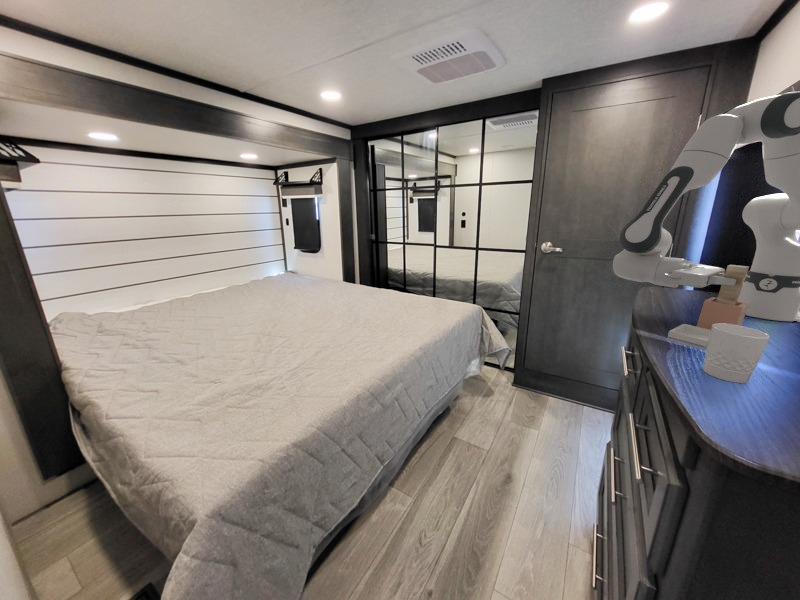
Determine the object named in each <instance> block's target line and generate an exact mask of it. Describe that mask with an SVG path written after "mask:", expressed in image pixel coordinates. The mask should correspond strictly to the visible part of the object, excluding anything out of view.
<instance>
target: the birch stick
mask: <svg viewBox="0 0 800 600" xmlns="http://www.w3.org/2000/svg"><path fill="white" fill-rule="evenodd" d="M749 268H750V266H747V265H746V266H745V265H740V264H739V265H736V264H729V265H727V267H726V269H725V273H724V274H725V276H724V277H725V278H735V279H737V282H736V284H735V285H733V286H731V285H720V288H719V289H720V290H719V292H718V295H717V297H716V298H717V301H716V302H719V303H724V304H730V305H735V306H736V304H737V301H738V298H739V295H740V292H741V289H742V286H743V283H744V282H745V278H746V275H747V273H748V271H749Z"/></svg>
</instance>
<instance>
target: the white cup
mask: <svg viewBox="0 0 800 600" xmlns="http://www.w3.org/2000/svg"><path fill="white" fill-rule="evenodd" d="M770 337H771V335H770V334H769V333H767V332H764V331H761V330H758V329H756V328H752V327H749V326H748V327H747V326H744V325H742V326H739V325H733V324H724V323H717V324H713V325H712V328H711V332H710V336H709V340H708V344H707V347H706V348H707V349H706V351H705V353H704V354H705V355H704V360H703V364H702V366H701V367H702V371H703V372H704V373H706V374H707V375H709V376H712V377H713V378H716V379H720V380H722V381H725V382H730V383H736V384H745V383H747V382H749V381H750V379H751V376H752V374H753V371H755V369H756V367H757V365H758V363H759V361H760V360H761V358H762V356H763V353H764V351H765V348H766V346H767V345H768V342H769V340H770V339H771V338H770Z"/></svg>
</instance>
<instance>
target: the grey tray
mask: <svg viewBox="0 0 800 600" xmlns="http://www.w3.org/2000/svg"><path fill="white" fill-rule="evenodd" d="M696 326H697V325H696ZM696 326H695V325H691V324H688V323H687V324H686V323H682V324H680V325H678V326H675V328H672V329H670V330H668V334H667V336H666V341H670V342H673V343H677V344H681V345H684V346H686V347H687V346H688V347H690V348H694V349H697V350H698V349H699V350H702V351H705V352H706V349H707V344H708V340H709V336H710V332H711V330H709V329H705V328H700V327H696Z"/></svg>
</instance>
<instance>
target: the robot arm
mask: <svg viewBox="0 0 800 600" xmlns="http://www.w3.org/2000/svg"><path fill="white" fill-rule="evenodd" d="M757 142H761V143H762V161H763V169H764V175H765V176H764V178H765V181H766V183H767V184H768V185H770V186H771V187H774V188H775V189H778V190H780V191H782V193H773V194H767V195H763V196H758V197H755V198H753V199H751V200H750V201H749V202H747V204H746V205H745V206H744V208H743V210H742V215H741V217H742V219H743V222H744V223H745V225H747V226H748V227H749V228H750V229H751V230H752V231H753V235H754V238H755V240H756V241H755V243H756V250H755V252H754V257H753V259H752V264H751V266H750V270H749V269H748V272H747V275H746V278H745V281H744V283H743V286H742V289H741V292H740V295H739V298H738V302H744V303H749V306H748V309H747V311H746V314H745V316H748V317H753V318H756V319H757V318H758V319H764V320H772V321H780V322H793V321H797V322H796V323H800V289H799V288H800V241H799V240H798V239H797V235H796V233H797V232H796V231H800V91H791V92H784V93H782V94H777V95H773V96H772V95H771V96H767V97H762V98H758V99H755V100H753V101H751V102H747V103H744V104H741V105H737V106H734V107H731V108H729V109H726V110H724V111H723V112H721V113H719V114H718V115H714V116H711V117H709V118H707V119H706V120H705V121H703V122H702V123H701V125H700V126H699V127H698V128H697V129H696V130H695V132H694V133H693V134H692V136H691V137H690V138H689V140H688V141H687V142H686V144H685V145H684V147H683V149H682V151H681V152H680V154H679V155H678V157H677V159H675V162H674V164H673V165H672V167H671V168H670V170H669V171H668V172H667V174H666V175H665V176H664V178H662V179H661V181H660V183H659V184H658V185H657V187H656V189H655V190H654V191H653V193H652V194H651V196H650V197H649V198H648V200H647V201H646V203H645V204H644V206H643V207H642V208H641V211H640V212H639V213H638V214H637V215H636V216H635V217H634V218H633V219H632V220H630V221H629V222H628V223H627V224H626V225H624V227H623V228H622V230H621V232H620V233H619V242H620V246H621V247H622V248H623V250H622V251H620V252H619V253H617V254H616V255H614V257H613V259H612V267H611V268H612V271H613V273H614V274H615V276H617V277H618V278H621V279H624V280H627V281H634V282H640V283H650V284H653V285H657V286H662V287H668V288H669V287H670V288H675V289H676V288H678V287H679V286H680V285H681V286H684V287H685V286H686V287H692V288H698V289H699V288H704V287H707V286H710V285H720V286H721V285H731V286H733V285H735V284H736V282H737V279H735V278H725V277H724V276H725V273H726V269H725V268H723V267H719V266H712V265H707V264H702V263H696V262H693V261H692V260H687V259H686V258H679V257H669V256H666V255H667V254H668V252H669V251H670V248H671V247H672V245H673V236H672V234H671V233H670V232H669V231H668V230H667V229H665V228H664V227H663V223H664V221H665V219H666V218H667V216H668V215H669V214H670V212H671V211H672V210H673V208H674V207H675V205H676V204H677V202H678V201H679V200H680V198H681V197H682V196H683V195H684V194H686V193H687V192H689V191H691V190H696V189H700V188H702V187H705V186H707V185H709V184H710V183H711V182H712V181H713V180H714V179H715V178H716V177H717V176H718V175H719V173H720V172H721V171H722V170H723V168H724V166H725V165H726V164H727V162H728V160H729V159H730V157H732V156H731V155H732V154H733V153H734V151H735V148H736V147H737V146H738V145H747V144H754V143H757Z"/></svg>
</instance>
